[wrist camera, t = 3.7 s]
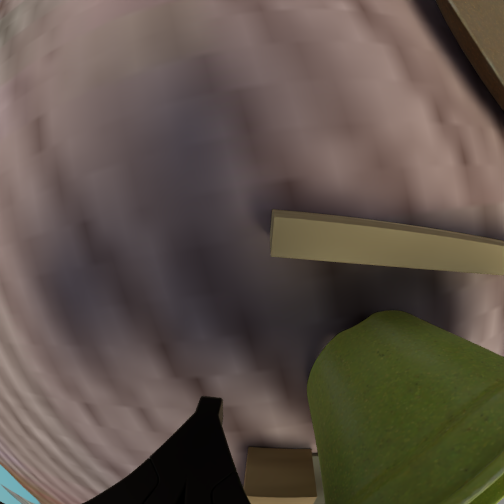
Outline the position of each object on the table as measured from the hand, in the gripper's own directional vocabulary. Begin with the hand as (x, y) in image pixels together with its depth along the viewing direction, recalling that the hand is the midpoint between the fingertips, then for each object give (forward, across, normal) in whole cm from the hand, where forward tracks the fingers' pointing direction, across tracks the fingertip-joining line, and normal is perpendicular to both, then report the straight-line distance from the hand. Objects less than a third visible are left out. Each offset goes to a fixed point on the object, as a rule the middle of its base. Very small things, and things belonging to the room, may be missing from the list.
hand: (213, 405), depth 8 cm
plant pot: (+3, -6, +1) cm, 7 cm away
